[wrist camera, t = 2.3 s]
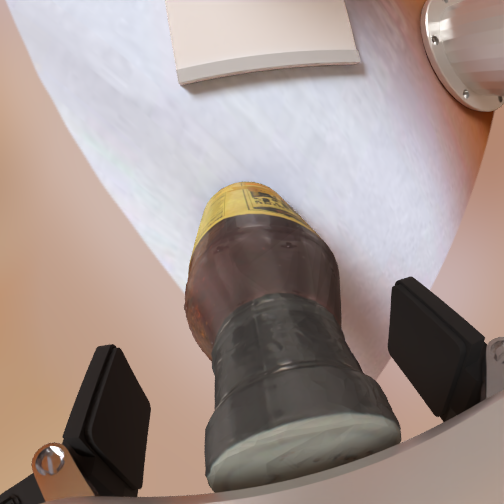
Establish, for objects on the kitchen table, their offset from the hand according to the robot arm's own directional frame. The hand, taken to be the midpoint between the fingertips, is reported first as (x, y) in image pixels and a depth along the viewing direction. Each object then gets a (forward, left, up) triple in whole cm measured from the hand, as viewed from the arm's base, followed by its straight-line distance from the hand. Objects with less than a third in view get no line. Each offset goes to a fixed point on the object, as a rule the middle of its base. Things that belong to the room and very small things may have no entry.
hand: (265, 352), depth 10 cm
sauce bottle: (-1, 0, -15) cm, 15 cm away
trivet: (-5, -17, -15) cm, 23 cm away
